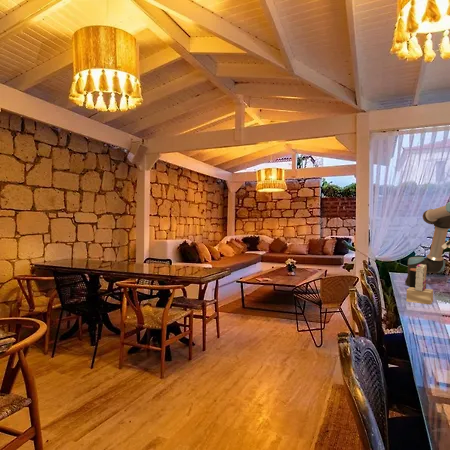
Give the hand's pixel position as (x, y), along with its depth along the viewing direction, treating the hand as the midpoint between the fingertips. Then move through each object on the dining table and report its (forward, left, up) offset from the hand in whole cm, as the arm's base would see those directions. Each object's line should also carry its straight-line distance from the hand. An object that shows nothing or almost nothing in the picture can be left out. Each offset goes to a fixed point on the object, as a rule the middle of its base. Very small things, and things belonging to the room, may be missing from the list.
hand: (445, 247), depth 242 cm
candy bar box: (+21, -8, -28) cm, 36 cm away
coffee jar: (-3, -18, -36) cm, 41 cm away
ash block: (+21, -8, -36) cm, 42 cm away
